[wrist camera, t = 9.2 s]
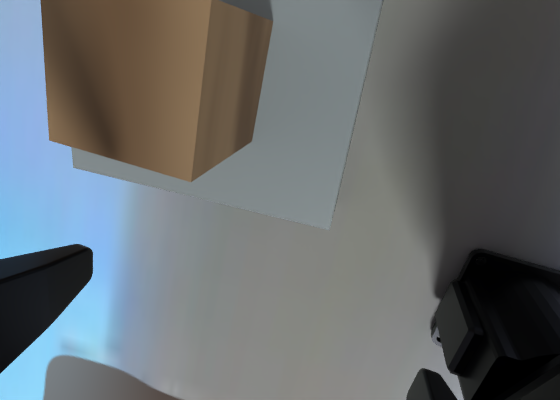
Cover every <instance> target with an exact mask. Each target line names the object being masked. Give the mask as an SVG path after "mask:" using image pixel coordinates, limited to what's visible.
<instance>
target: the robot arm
mask: <svg viewBox="0 0 560 400" xmlns="http://www.w3.org/2000/svg"><path fill="white" fill-rule="evenodd" d="M479 257H484V259H483V261H476V259H477V258H479ZM92 274H93V252H92V250H91V249H90V248H89V247H86V246H83V245H80V244H73V245H68V246H64V247H59V248H54V249H49V250H44V251H39V252H34V253H29V254H24V255H19V256H14V257H9V258H5V259H0V373H1V372H2V371H3V370H4V369H6V368H7V367H8V366H9V365H10V364H11V363H12V362H13V361H14V360H15V359H16V358H17V357H18V356H19V355H20V354H21V353H22V352H23V351H24V350H25V349H26V348H28V347H29V346H30V345H31V344H32V343H33V342H34V341H35V340H36V339H37V338H38V337H39V336H40V335H41V334H42V333H43V332H44V331H45V330H46V329H47V328H48V327H49V326H50V325H51V324H52V323H53V322H54V321H55V320H56V319H57V318H58V316H59V315H60V314H61V313H62V312H63V311H64V310H65V308H66V307H67V306H68V305H69V304H70V303H71V302H72V300H73V299H74V298H75V297H76V296H77V295H78V293H79V292H80V291H81V290H82V289H83V288H84V287H85V285H86V284H87V283H88V282H89V281H90V279H91V277H92ZM435 319H436V323H435V325H434V327H433V329H432V331H431V337H432V341H433V342H434V343H435V344H436V345H439V346H442V348H443V353H444V357H445V361H446V365H447V368H448V370H449V371H450V373H452V374H455V375H458V379H459V383H460V387H461V390H462V394H463V398H464V400H560V271H557V270H554V269H550V268H547V267H543V266H540V265H536V264H533V263H529V262H526V261H522V260H519V259H515V258H512V257H508V256H505V255H501V254H498V253H494V252H491V251H487V250H484V249H476V250H474V251H472V252H471V253H470V254H469V256H468V259H467V261H466V263H465V265H464V267H463V269H462V271H461V273H460V275H459V277H458V279H457V280H454V281H452V282H451V283H450V285H449V287H448V289H447V291H446V293H445V295H444V297H443V300H442V302H441V304H440V306H439V308H438V310H437V312H436V314H435ZM438 336H440V338H439V337H438ZM406 400H457V398H456V397H455V395H454V394H453V393H452V391H451V390H450V388H449V387H448V385H447V384H446V382H445V381H444V379H443V378H442V377H441V375H440V374H438V373H436V372H433V371H431V370H428V369H425V368H422V369H420V370H419V372H418V373H417V375H416V377H415V379H414V381H413V383H412V385H411V387H410V389H409V391H408V394H407V399H406Z"/></svg>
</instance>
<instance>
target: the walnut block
mask: <svg viewBox="0 0 560 400" xmlns="http://www.w3.org/2000/svg"><path fill="white" fill-rule="evenodd" d="M41 13H42V29H43V46H44V62H45V79H46V95H47V112H48V128H49V140H50V141H53V142H57V143H60V144H63V145H67V146H70V147H73V148H77V149H80V150H84V151H87V152H90V153H94V154H97V155H100V156H104V157H107V158H111V159H114V160H117V161H121V162H124V163H127V164H131V165H134V166H137V167H141V168H144V169H148V170H151V171H154V172H158V173H161V174H164V175H168V176H171V177H175V178H178V179H181V180H185V181H188V182H192V181H194V180H195V179H197V178H198V177H200V176H201V175H203V174H204V173H206V172H207V171H209V170H210V169H212V168H213V167H215V166H216V165H218V164H219V163H221V162H222V161H224V160H225V159H227V158H228V157H230V156H231V155H233V154H234V153H236V152H237V151H239V150H240V149H242V148H243V147H245V146H246V145H247V144H249V143H250V142H252V139H253V133H254V127H255V122H256V116H257V110H258V105H259V99H260V94H261V88H262V82H263V77H264V71H265V65H266V60H267V54H268V49H269V43H270V37H271V32H272V26H273V21H271V20H269V19H266V18H264V17H261V16H258V15H256V14H253V13H251V12H248V11H245V10H243V9H240V8H238V7H235V6H232V5H230V4H227V3H225V2H222V1H219V0H41Z"/></svg>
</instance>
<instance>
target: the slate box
mask: <svg viewBox="0 0 560 400" xmlns="http://www.w3.org/2000/svg"><path fill="white" fill-rule="evenodd" d="M219 1H222V2H225V3H227V4H230V5H232V6H235V7H238V8H240V9H243V10H245V11H248V12H251V13H253V14H256V15H258V16H261V17H264V18H266V19H269V20H271V21H273V26H272V32H271V37H270V43H269V49H268V54H267V60H266V65H265V71H264V77H263V82H262V88H261V94H260V99H259V105H258V110H257V116H256V122H255V127H254V133H253V139H252V142H250V143H249V144H247V145H246V146H245V147H243V148H242V149H240V150H239V151H237V152H236V153H234V154H233V155H231V156H230V157H228V158H227V159H225V160H224V161H222V162H221V163H219V164H218V165H216V166H215V167H213V168H212V169H210V170H209V171H207V172H206V173H204V174H203V175H201V176H200V177H198V178H197V179H195V180H194V181H192V182H188V181H185V180H181V179H178V178H175V177H171V176H168V175H164V174H161V173H158V172H154V171H151V170H148V169H144V168H141V167H137V166H134V165H131V164H127V163H124V162H121V161H117V160H114V159H111V158H107V157H104V156H100V155H97V154H94V153H90V152H87V151H84V150H80V149H77V148H73V147H72V157H73V168H77V169H81V170H85V171H89V172H93V173H97V174H101V175H105V176H109V177H113V178H117V179H122V180H126V181H130V182H134V183H138V184H142V185H146V186H150V187H154V188H158V189H162V190H166V191H171V192H175V193H179V194H183V195H187V196H191V197H195V198H199V199H203V200H207V201H211V202H215V203H220V204H224V205H228V206H232V207H236V208H240V209H244V210H248V211H252V212H256V213H260V214H265V215H269V216H273V217H277V218H281V219H285V220H289V221H293V222H297V223H301V224H305V225H309V226H314V227H318V228H322V229H326V230H330V226H331V222H332V218H333V215H334V211H335V207H336V203H337V199H338V194H339V190H340V186H341V181H342V177H343V173H344V169H345V164H346V160H347V156H348V151H349V147H350V143H351V138H352V134H353V130H354V125H355V121H356V117H357V112H358V108H359V104H360V99H361V95H362V91H363V87H364V82H365V78H366V74H367V69H368V65H369V61H370V56H371V52H372V48H373V43H374V39H375V35H376V30H377V26H378V22H379V17H380V13H381V9H382V5H383V0H219Z"/></svg>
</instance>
